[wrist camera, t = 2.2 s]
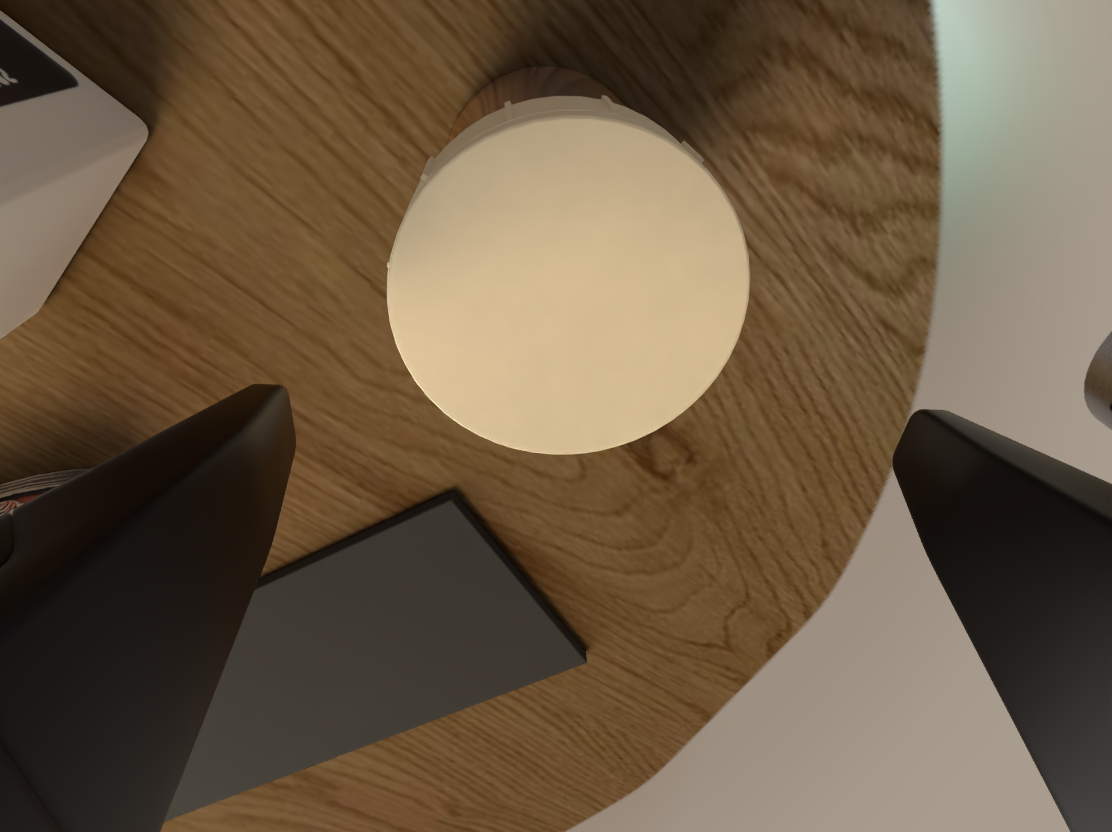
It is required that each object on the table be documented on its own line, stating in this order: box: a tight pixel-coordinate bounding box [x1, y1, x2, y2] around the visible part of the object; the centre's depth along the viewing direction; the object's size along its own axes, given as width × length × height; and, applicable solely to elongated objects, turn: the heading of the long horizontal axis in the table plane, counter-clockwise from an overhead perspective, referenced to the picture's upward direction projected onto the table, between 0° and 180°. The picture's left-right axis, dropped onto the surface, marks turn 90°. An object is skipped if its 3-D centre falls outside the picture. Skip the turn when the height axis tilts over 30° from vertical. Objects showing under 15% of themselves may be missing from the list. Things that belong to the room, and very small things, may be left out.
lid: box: [387, 95, 750, 454], centre depth 13 cm, size 6×6×2 cm
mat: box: [164, 491, 587, 822], centre depth 33 cm, size 40×12×1 cm, turn 118°
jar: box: [446, 66, 626, 146], centre depth 16 cm, size 6×6×9 cm
